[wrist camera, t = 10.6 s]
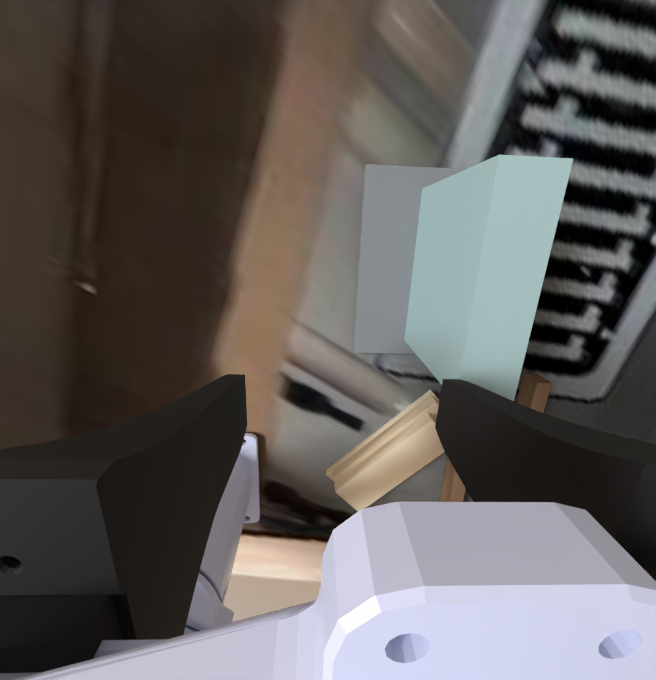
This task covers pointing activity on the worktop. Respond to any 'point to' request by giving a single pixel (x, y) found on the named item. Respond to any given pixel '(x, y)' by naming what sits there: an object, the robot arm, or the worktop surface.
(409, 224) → the slate mat
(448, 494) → the walnut rack
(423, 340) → the tall board
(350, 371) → the worktop surface
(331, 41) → the worktop surface
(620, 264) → the worktop surface
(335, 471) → the offcut planks
